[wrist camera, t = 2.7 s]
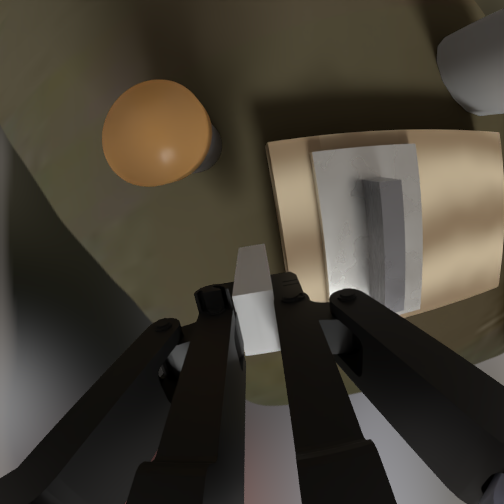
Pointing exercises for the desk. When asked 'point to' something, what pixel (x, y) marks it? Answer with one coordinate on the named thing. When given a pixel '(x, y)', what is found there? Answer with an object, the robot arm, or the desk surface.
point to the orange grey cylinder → (159, 134)
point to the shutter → (371, 222)
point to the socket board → (432, 199)
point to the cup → (475, 65)
